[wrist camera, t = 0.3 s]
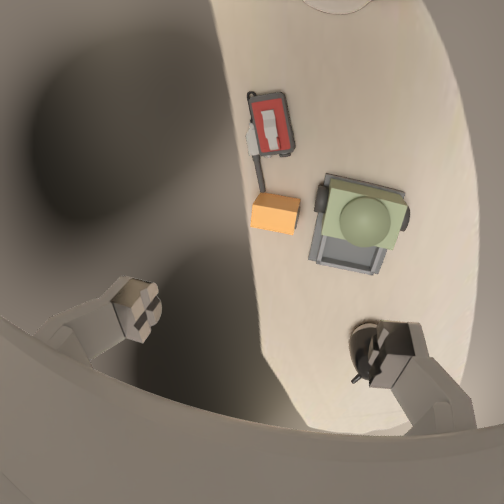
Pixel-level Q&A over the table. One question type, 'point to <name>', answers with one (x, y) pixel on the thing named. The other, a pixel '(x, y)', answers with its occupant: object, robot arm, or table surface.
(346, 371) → the table surface
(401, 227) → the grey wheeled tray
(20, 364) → the robot arm
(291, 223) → the orange cardboard box
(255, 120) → the walkie-talkie
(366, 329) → the pump dispenser
